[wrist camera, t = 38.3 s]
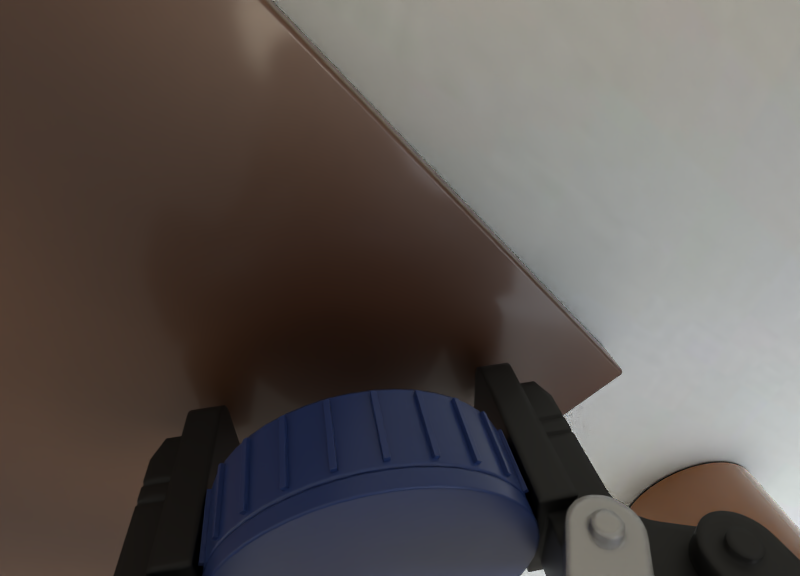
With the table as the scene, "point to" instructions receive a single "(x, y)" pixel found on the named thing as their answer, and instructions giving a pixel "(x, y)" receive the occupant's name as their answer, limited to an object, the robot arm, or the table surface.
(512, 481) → the lid
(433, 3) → the table surface
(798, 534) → the jar
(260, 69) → the board
